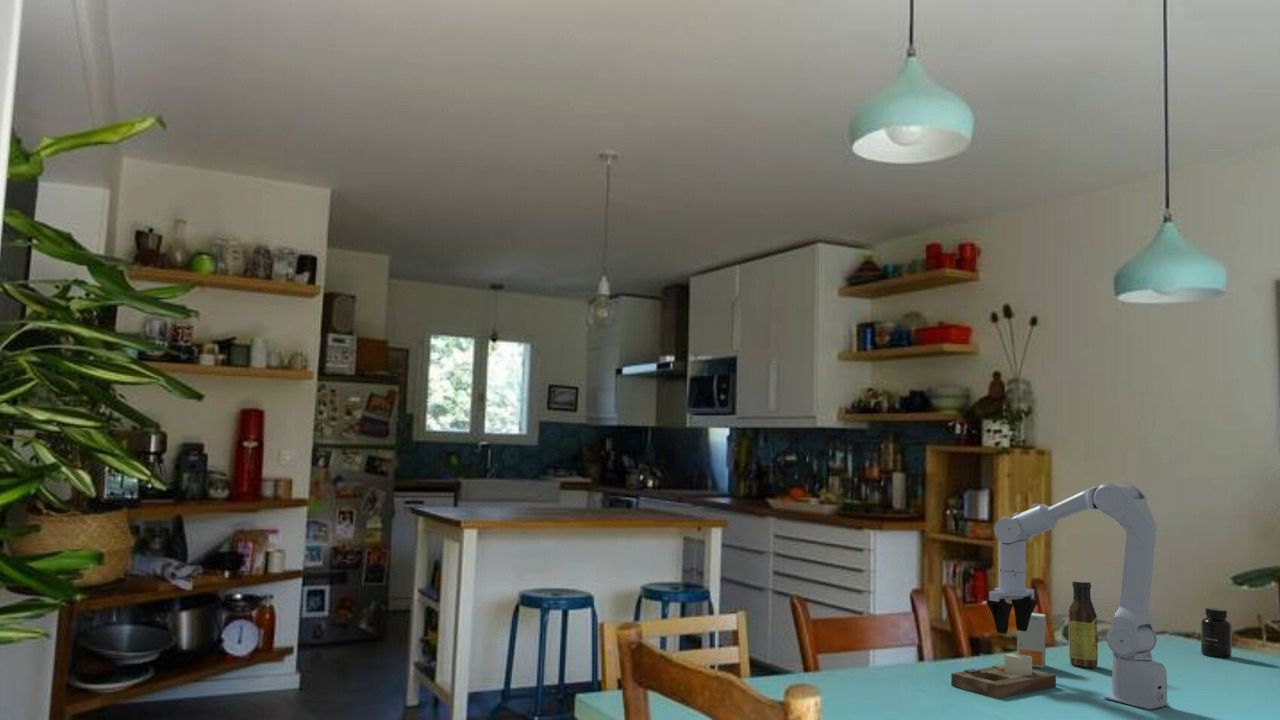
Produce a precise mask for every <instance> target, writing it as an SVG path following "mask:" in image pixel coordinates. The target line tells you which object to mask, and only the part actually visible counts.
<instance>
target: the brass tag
mask: <svg viewBox="0 0 1280 720" xmlns="http://www.w3.org/2000/svg"><path fill="white" fill-rule="evenodd" d="M991 667H992V668H996V669H1005V664H1002V663H1001V664H1000V663H999V664H996V665H995V664H994V665H992V666H991Z"/></svg>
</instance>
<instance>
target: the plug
mask: <svg viewBox="0 0 1280 720" xmlns="http://www.w3.org/2000/svg"><path fill="white" fill-rule="evenodd" d="M1004 665H1005V672H1006V673H1010V674H1015V675H1019V676H1027V675H1032V670H1033V666H1032V657H1031V656H1026V655H1021V654H1017V652H1013V653H1008V654H1006V653H1005V654H1004Z"/></svg>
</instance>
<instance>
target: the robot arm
mask: <svg viewBox="0 0 1280 720" xmlns="http://www.w3.org/2000/svg"><path fill="white" fill-rule="evenodd" d="M1147 502H1148V501H1147V495H1145V494H1144V493H1143V492H1142V491H1141V490H1140V489H1138V488H1137V487H1136V486H1134V485H1133V484H1130V483H1123V484H1122V483H1120V484H1117V483H1115V484H1113V483H1103V484H1100V485H1099V486H1094V487H1090V488H1088V489H1085V490H1083V491H1081V492H1079V493H1077V494H1075V495H1072V496H1070V497H1069V498H1066V499H1063V500H1062V501H1060V502H1058V503H1055V504H1053V505H1052V506H1049V505H1048V504H1045V503H1033V504H1031V505H1030V507H1031V508H1030V509H1028V510H1024V511H1022V512H1019V511H1018V512H1017V511H1016V512H1015V513H1013V516H1012V517H1006V516H1003V517H1001V518H1000V519H999V520H998V521H996V522H995V525H994V527H993V532H994V536H995V538H996V539H997V540H998V587H996V588H995V587H994V590H992V591H989V592H988V597H989V598H987V599H986V605H987V606H988V608H989V610H990V612H991V614H992V617H993V620H994V624H995V628H996V632H997V634H998V633H999V634H1003V635H1007V634H1008V631H1009V620H1010V617H1011V616H1010V614H1011V611H1012V609H1013V610H1014V616H1015V626H1016V627H1015V628H1016V630H1020V631H1027V628H1028V624H1029V620H1030V617H1031V614H1032V613H1034V609H1035V608H1036V606H1037V605H1038V599H1037V600H1036V599H1035V589H1032V588H1031V589H1030V588H1027V585H1026V581H1027V580H1026V579H1027V576H1026V575H1027V574H1026V569H1027V568H1026V565H1027V563H1026V562H1027V561H1026V559H1027V558H1026V557H1027V556H1026V555H1027V554H1026V553H1027V551H1026V550H1027V542H1028V541H1029V540H1030V538H1032V537H1033V538H1034V537H1035V536H1038V535H1040V534H1043V533H1045V532H1047V531H1050V530H1053V529H1055V528H1056V527H1057V524H1058V522H1059V520H1061V519H1064V518H1067V517H1070V516H1073V515H1076V514H1078V513H1082V512H1084V511H1087V510H1099V511H1100V512H1101V513H1102V514H1105V515H1106V516H1108V517H1111V518H1112V519H1113V520H1115V521H1116V522H1117V523H1118V524H1119V526H1121V527H1122V528H1123V529H1124V530H1125V532H1126V535H1125V537H1126V538H1125V544H1124V545H1125V546H1124V547H1125V548H1124V558H1123V566H1122V568H1123V569H1122V577H1121V579H1122V580H1121V586H1120V587H1121V588H1120V596H1119V597H1120V599H1119V600H1120V601H1119V607H1118V609H1117V611H1116V612H1115V613H1114V616H1113V617H1112V624H1111V627H1110V628H1109V629H1108V631H1107V633H1106V643H1107V646H1108V648H1110V650H1111V651H1112V653H1111V656H1112V657H1111V660H1112V664H1111V668H1112V670H1111V671H1112V676H1111V677H1112V678H1111V679H1112V680H1111V681H1112V693H1110V694H1106V695H1103V699H1106V700H1110V701H1114V702H1117V703H1122V704H1127V705H1128V706H1129V705H1130V706H1134V707H1138V708H1143V709H1146V710H1153V709H1158V708H1162V707H1166V706H1169V705H1170V702H1168V676H1167V674H1168V673H1167V669H1166V666H1165V665H1164V664H1163V663H1162V662H1158V661H1155V660H1154V659H1153V656H1152V650H1154V649H1155V647H1156V644H1157V643H1158V642H1157V640H1158V639H1157V635H1156V632H1155V629H1154V618H1153V616H1152V615H1151V613H1150V611H1149V610H1150V608H1149V607H1150V599H1151V589H1152V578H1153V568H1154V557H1155V549H1156V548H1155V547H1156V546H1155V545H1156V536H1157V523H1156V520H1155V518H1154V517H1153V515H1152V511H1151V509H1150V508H1149V506H1148V504H1147ZM1008 600H1010V601H1011V603H1008V602H1007V601H1008Z"/></svg>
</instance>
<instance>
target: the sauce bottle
mask: <svg viewBox="0 0 1280 720" xmlns="http://www.w3.org/2000/svg"><path fill="white" fill-rule="evenodd" d="M1091 588H1092V584H1091V582H1090V581H1085V580H1072V589H1073V597H1072V598H1073V601H1072V603H1071V604H1070V605H1069V608H1068V652H1069V654H1068V655H1069V663H1070V664H1071V665H1072V666H1075V667H1078V668H1088V669H1089V668H1090V669H1091V668H1092V669H1093V668H1096V667H1098V660H1099V654H1098V653H1099V651H1098V648H1099V647H1098V645H1099V644H1098V641H1099V640H1098V616H1097V613H1096V610H1095V608H1094V605H1093V601H1092V598H1091Z"/></svg>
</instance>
